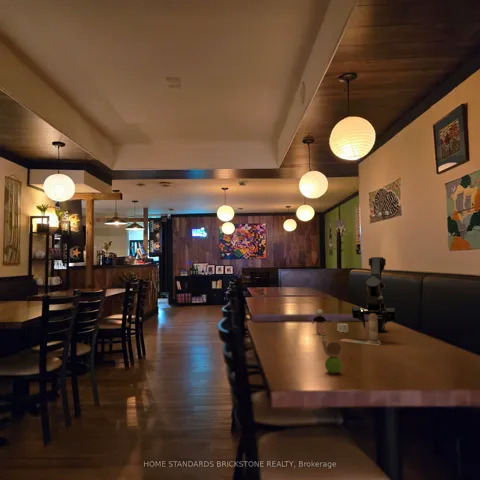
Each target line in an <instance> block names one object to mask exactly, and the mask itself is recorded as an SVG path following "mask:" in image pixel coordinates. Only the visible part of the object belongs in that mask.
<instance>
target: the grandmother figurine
mask: <svg viewBox="0 0 480 480" xmlns="http://www.w3.org/2000/svg"><path fill="white" fill-rule="evenodd" d="M315 314H316V315H317V316H315V317H314V318H313V319H312V321H311V324H312V325H314V324H315V322H316V325H315V329H316V334H315V335H316V336H320V335H321V336H326V335H327V334H326V332H325V326H327V325H329V324H328V322H327V319H326V318H325V317H324V316H323V309H317V310H316V312H315ZM324 323H325V324H324Z"/></svg>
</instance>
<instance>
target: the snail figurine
mask: <svg viewBox="0 0 480 480" xmlns="http://www.w3.org/2000/svg"><path fill="white" fill-rule="evenodd" d="M321 339H322V341H321V343H322V346H323V351H324V353H325V354H326V356H328V357H327V358H326V360H325V362H324V367H325V369H326V370H327V372H328V373H330V374H332V375H333V374H334V375H335V374H339V373H340V372H341V370H342V367H343V362H342V360H341V359H340V358H339V357H340V355H341V354H342V353H341V350H342V348H341V347H342V346H341V343H339V342H338V341H335V340H334V341H329V343H328V344H327V340H326V339H325V336H324V335H321Z"/></svg>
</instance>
